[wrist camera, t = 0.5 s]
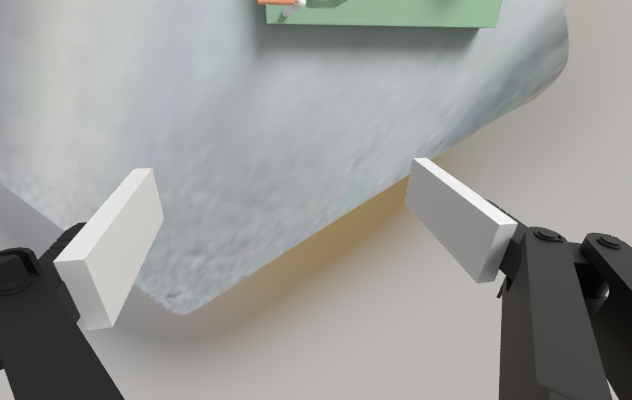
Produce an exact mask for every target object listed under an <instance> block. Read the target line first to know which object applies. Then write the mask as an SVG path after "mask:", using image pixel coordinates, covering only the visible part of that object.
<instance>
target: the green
mask: <svg viewBox="0 0 632 400" xmlns="http://www.w3.org/2000/svg"><path fill="white" fill-rule="evenodd" d="M257 2H258V4H259V5H265V15H266V24H283V25H337V26H392V27H447V28H495V27H496V24H497V20H498V16H499V12H500V8H501V4H502V0H258V1H257Z"/></svg>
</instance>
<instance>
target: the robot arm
mask: <svg viewBox="0 0 632 400" xmlns="http://www.w3.org/2000/svg"><path fill="white" fill-rule="evenodd" d="M405 204H406V205H407V206H408V207H409V208H410V210H411V211H412V212H413V213H414V214H415V215H416V216H417V217H418V218H419V220H420V221H421V222H422V223H423V224H424V225H425V226H426V227H427V228H428V229H429V231H430V232H431V233H432V234H433V235H434V236H435V237H436V238H437V239H438V241H439V242H440V243H441V244H442V245H443V246H444V247H445V248H446V249H447V250H448V251H449V253H450V254H451V255H452V256H453V257H454V258H455V259H456V260H457V261H458V263H459V264H460V265H461V266H462V267H463V268H464V269H465V270H466V272H467V273H468V274H469V275H470V276H471V277H472V278H473V279H474V280H475V282H476V283H484V282H492V281H494V280H495V278H496V275H497V273H498V271H499V269H500V270H501V271H502V272H503V273H504V274H505V275H506V277H505V279H504V282H503V284H502V286H501V288H500V291H499V293H498V295H497V298H500V297H501V295H502V321H501V349H500V377H499V378H500V379H499V400H612V396H611V393H610V389H609V386H608V382H607V380H608V381H609V383H610V385H611V387H612V388H613V390H614V392H615V394H616V395H617V397H618V399H619V400H632V247H630V246H629V245H628V244H626V243H625V242H623V241H621V240H619V239H618V238H617V237H614V236H613V237H612V236H611V235H607V234H601V233H589V234H587V236H586V237H585V239H584V241H583V243H582V244H580V243H571V242H567V240H566V239H565V238H564V237H563V236H561V235H560V234H558V233H556V232H554V231H551V230H549V229H546V228H541V227H529V228H528V227H527V226H525V225H524V224H522V223H521V222H519V221H518V220H517V219H515V218H514V217H512V216H511V215H509V214H508V213H506V212H505V211H504V210H502V209H499V207H498V206H497V205H495V204H494V203H492V202H491V201H489V200H486V199H484V198H482V197H480V196H479V195H478V194H476V193H475V192H473V191H472V190H471V189H469V188H468V187H466V186H465V185H463V184H462V183H461V182H459V181H458V180H457V179H455V178H454V177H452V176H451V175H450V174H448V173H447V172H445V171H444V170H442V169H441V168H440V167H438V166H437V165H435V164H434V163H433V162H431V161H430V160H428V159H427V158H413V162H412V167H411V172H410V177H409V182H408V187H407V192H406V198H405ZM163 220H164V216H163V212H162V208H161V203H160V199H159V195H158V191H157V187H156V183H155V178H154V174H153V170H152V168H140V169H133V171H132V172H131V173H130V174H129V175H128V176H127V177H126V179H125V180H124V181H123V182H122V183H121V184H120V186H119V187H118V188H117V189H116V190H115V191H114V192H113V194H112V195H111V196H110V197H109V198H108V199H107V200H106V202H105V203H104V204H103V205H102V206H101V207H100V209H99V210H98V211H97V212H96V213H95V214H94V215H93V217H92V218H91V219H90V220H89V221H88V222H85V223H78V224H76V225H74V226H73V227H71V228H69V229H68V230H66V231H65V232H64V233H63V234H62V235H61V236H60V237H59V238H58V239H57V242H54V243H53V245H52V246H51V247H50V249H48V250H47V251H46V252H45V253H44V254H43V255H42V256H41V257H40V258H39V259H38V260H37V258H36V256H35V254H34V252H33V251H32V250H30V249H29V248H21V247H19V248H11V249H6V250H2V251H0V370H2V369H5V372H6V375H7V378H8V381H9V384H10V386H11V390H12V392H13V395H14V398H15V400H125V399H124V398H123V396H122V395H121V393H120V391H119V390H118V388H117V387H116V385H115V384H114V382H113V380H112V379H111V377H110V376H109V374H108V373H107V371H106V369H105V368H104V366H103V365H102V364H101V362H100V360H99V358H98V357H97V355H96V354H95V352H94V351H93V349H92V347H91V346H90V344H89V343H88V341H87V340H86V338H85V337H84V335H83V334H82V332H81V330H80V329H79V327H78V325H77V324H76V323H77V321H78V320H79V318H80V319H81V321H82V323H83V325H84V327H85V329H86V330H93V329H101V328H109V327H113V325H114V323H115V321H116V319H117V317H118V315H119V313H120V311H121V308H122V306H123V304H124V302H125V300H126V298H127V296H128V294H129V292H130V289H131V287H132V285H133V283H134V281H135V279H136V277H137V275H138V273H139V270H140V268H141V266H142V264H143V262H144V260H145V258H146V256H147V254H148V251H149V249H150V247H151V245H152V243H153V241H154V239H155V237H156V235H157V232H158V230H159V228H160V226H161V224H162V222H163ZM608 290H609V295H608V297H606V296H605V294H606V293H607V291H608ZM606 378H607V379H606Z"/></svg>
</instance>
